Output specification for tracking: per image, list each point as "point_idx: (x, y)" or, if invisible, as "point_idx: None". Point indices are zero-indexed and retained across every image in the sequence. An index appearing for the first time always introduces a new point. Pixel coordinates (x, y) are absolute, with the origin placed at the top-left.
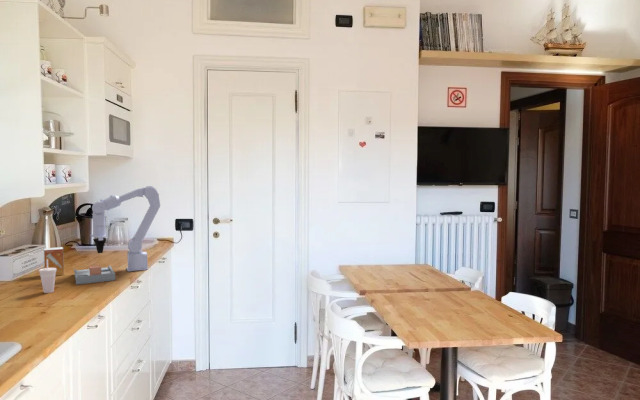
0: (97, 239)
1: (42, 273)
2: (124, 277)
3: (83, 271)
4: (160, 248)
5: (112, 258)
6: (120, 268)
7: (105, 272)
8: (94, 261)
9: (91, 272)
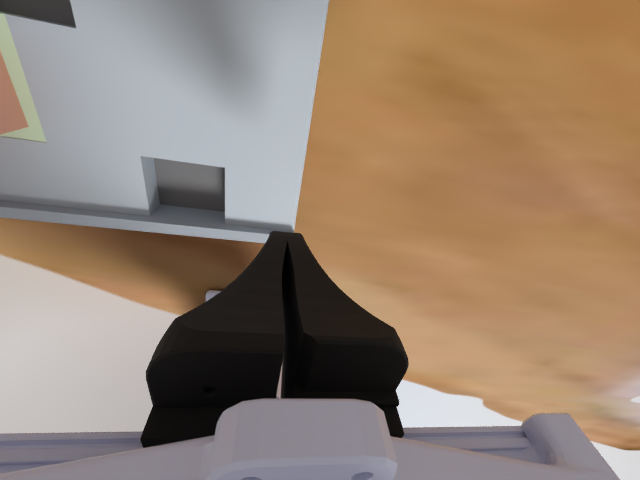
0: (184, 401)
1: None
2: (57, 248)
3: (240, 33)
4: None
5: (589, 293)
6: None
7: (110, 178)
8: (625, 212)
9: None
